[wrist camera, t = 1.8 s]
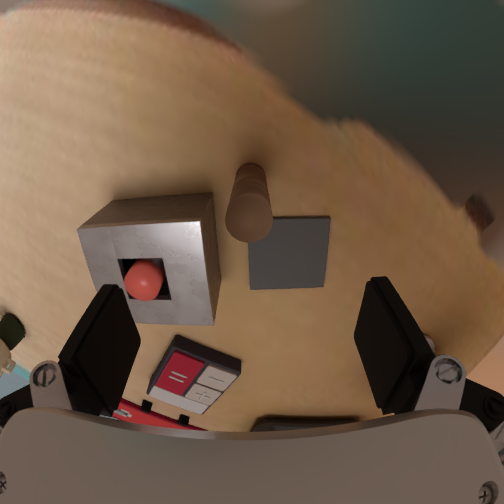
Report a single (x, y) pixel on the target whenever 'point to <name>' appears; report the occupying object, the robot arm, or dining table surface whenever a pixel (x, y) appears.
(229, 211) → the brown cylinder
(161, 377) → the calculator
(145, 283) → the red ball
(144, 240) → the guard box
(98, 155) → the dining table surface
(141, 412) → the red board with handle
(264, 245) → the rest pad
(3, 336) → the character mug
